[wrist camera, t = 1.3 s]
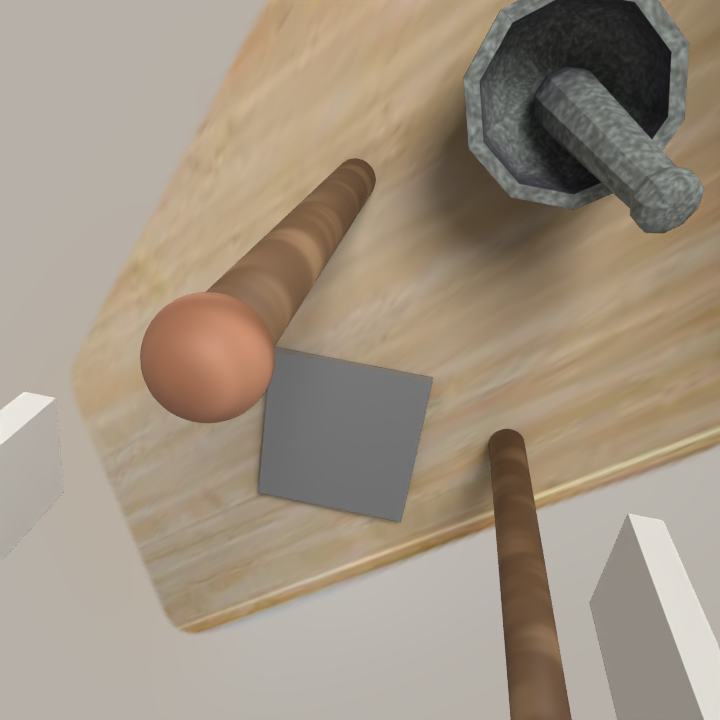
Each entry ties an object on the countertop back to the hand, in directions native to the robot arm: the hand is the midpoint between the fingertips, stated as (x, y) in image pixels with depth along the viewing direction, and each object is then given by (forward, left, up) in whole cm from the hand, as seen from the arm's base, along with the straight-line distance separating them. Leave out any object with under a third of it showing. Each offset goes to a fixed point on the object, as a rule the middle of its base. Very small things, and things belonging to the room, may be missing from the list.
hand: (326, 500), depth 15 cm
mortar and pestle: (-7, -8, -27) cm, 29 cm away
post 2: (-9, +14, -27) cm, 32 cm away
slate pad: (+2, +16, -27) cm, 31 cm away
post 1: (+4, -2, -27) cm, 27 cm away
